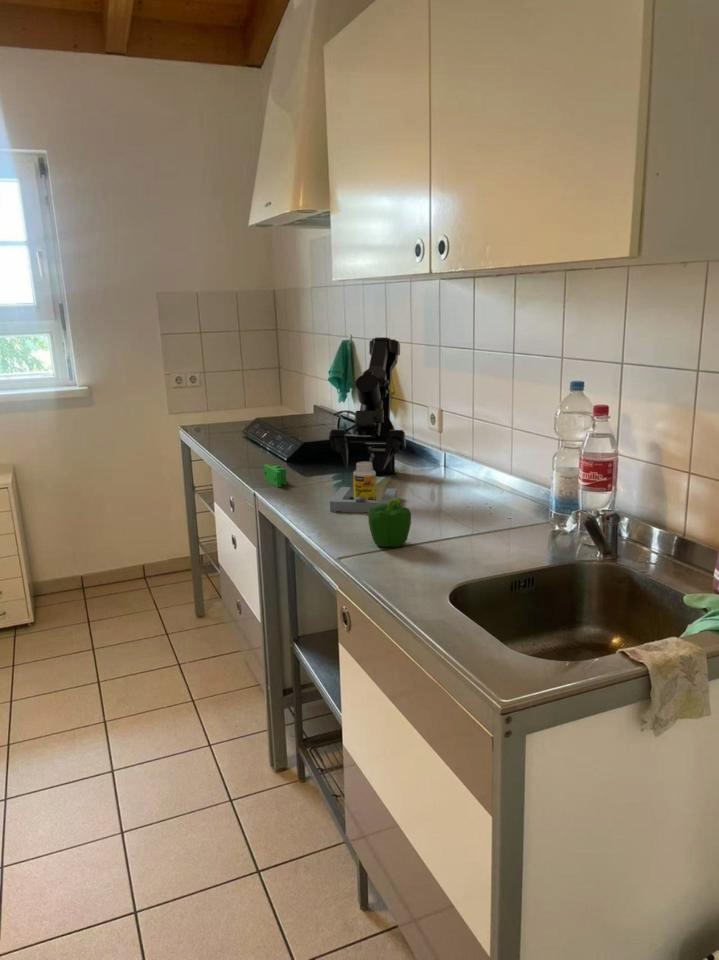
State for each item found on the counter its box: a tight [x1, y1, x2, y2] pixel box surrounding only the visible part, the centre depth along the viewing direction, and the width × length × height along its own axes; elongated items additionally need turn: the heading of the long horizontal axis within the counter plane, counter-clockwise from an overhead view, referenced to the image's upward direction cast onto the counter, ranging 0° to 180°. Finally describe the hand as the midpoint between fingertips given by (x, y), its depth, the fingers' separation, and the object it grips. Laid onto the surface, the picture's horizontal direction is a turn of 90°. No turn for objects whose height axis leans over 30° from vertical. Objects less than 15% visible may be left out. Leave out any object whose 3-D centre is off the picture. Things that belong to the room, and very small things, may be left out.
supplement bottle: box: [352, 461, 377, 500], centre depth 179 cm, size 6×6×10 cm
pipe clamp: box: [263, 463, 287, 488], centre depth 202 cm, size 11×4×5 cm, turn 26°
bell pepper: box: [367, 498, 412, 548], centre depth 147 cm, size 8×8×10 cm
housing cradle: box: [329, 486, 398, 513], centre depth 178 cm, size 14×14×3 cm
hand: (364, 468), depth 177 cm, fingers open, 9 cm apart
